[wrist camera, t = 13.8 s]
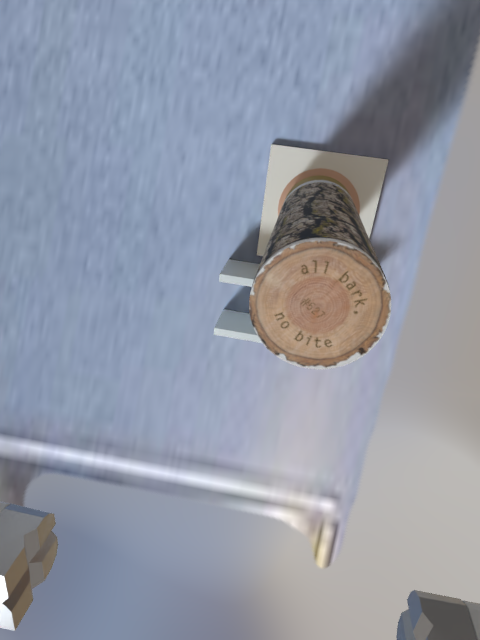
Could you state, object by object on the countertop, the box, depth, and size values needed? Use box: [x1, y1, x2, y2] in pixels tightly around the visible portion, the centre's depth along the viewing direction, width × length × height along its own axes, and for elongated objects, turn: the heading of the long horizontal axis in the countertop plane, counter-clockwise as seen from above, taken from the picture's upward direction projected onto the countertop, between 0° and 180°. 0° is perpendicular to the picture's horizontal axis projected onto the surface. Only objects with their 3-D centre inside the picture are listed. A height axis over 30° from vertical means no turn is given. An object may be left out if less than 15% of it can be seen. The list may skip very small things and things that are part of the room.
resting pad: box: [257, 144, 388, 256], centre depth 44 cm, size 11×11×1 cm
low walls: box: [214, 259, 262, 343], centre depth 47 cm, size 7×14×5 cm, turn 83°
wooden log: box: [249, 175, 391, 369], centre depth 33 cm, size 7×7×25 cm
